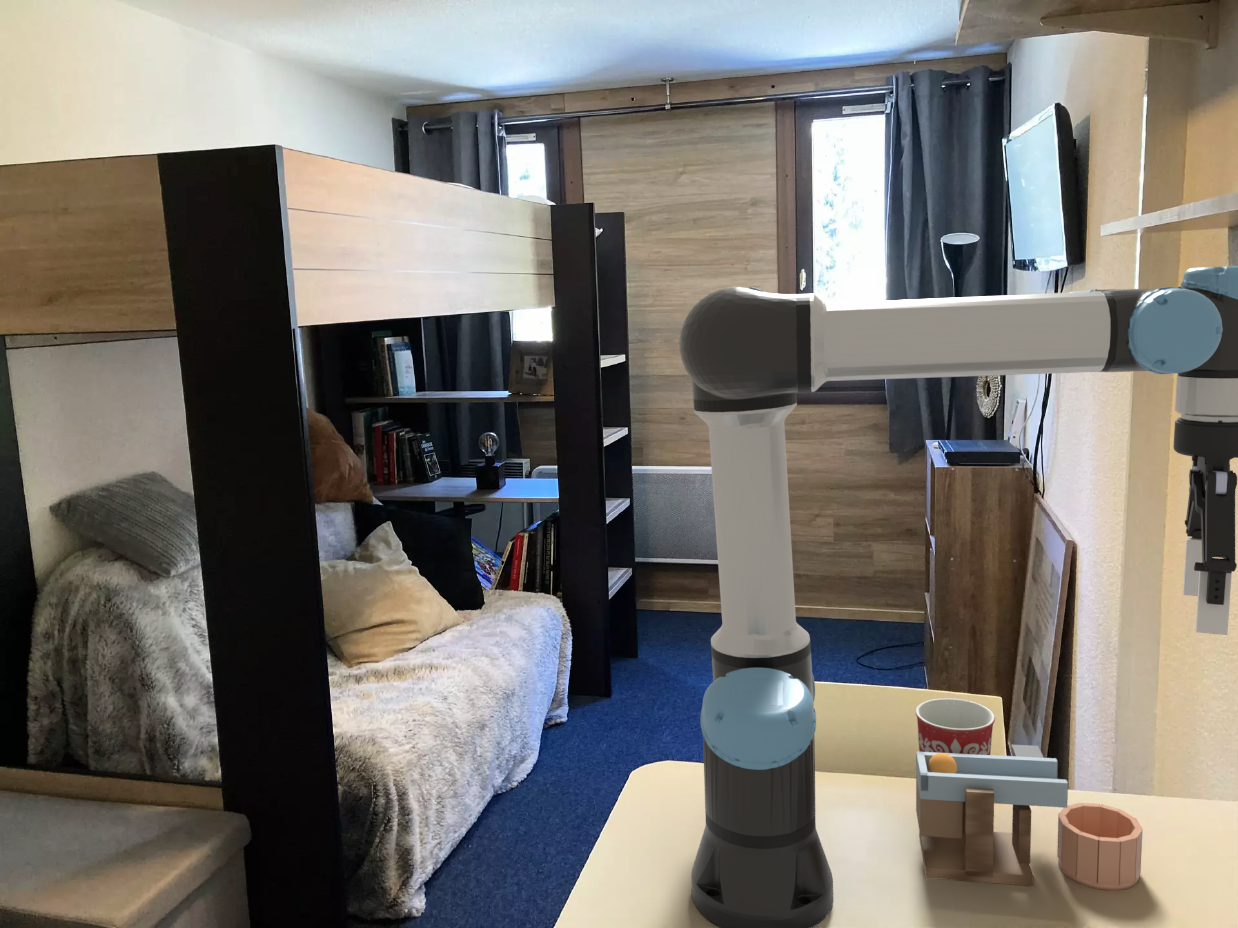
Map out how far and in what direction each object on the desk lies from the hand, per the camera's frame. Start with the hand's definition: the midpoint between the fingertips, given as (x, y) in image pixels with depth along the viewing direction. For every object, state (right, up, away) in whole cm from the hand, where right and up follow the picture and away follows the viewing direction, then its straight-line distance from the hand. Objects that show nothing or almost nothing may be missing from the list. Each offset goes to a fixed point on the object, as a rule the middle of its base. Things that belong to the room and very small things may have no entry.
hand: (1203, 613), depth 106 cm
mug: (-22, -27, +16) cm, 38 cm away
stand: (-23, -29, +5) cm, 37 cm away
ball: (-27, -18, +4) cm, 32 cm away
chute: (-21, -24, +7) cm, 33 cm away
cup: (-10, -28, +2) cm, 30 cm away
